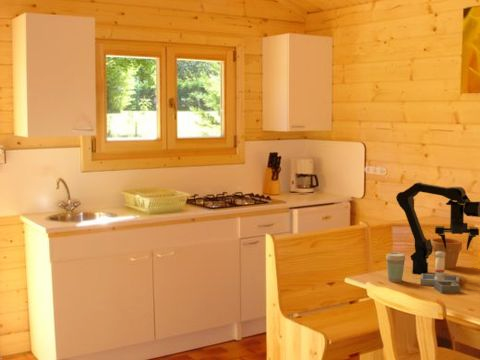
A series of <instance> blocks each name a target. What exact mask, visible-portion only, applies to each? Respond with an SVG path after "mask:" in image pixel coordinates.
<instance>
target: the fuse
mask: <svg viewBox="0 0 480 360" xmlns="http://www.w3.org/2000/svg"><path fill="white" fill-rule="evenodd" d="M435 257H436V261H435V266H434V271H435V272H434V274H435V280H445V277H444V275H445V270H446V269H444V266H445V252H442V251H436V252H435V256H434V258H435Z"/></svg>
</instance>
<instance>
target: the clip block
mask: <svg viewBox="0 0 480 360" xmlns="http://www.w3.org/2000/svg"><path fill="white" fill-rule="evenodd" d="M433 288H434V290H436V291H437V292H439V293H441V294H461V285H460V284H459V285H458V284H457V283H455V282H453V281H434V286H433Z"/></svg>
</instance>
